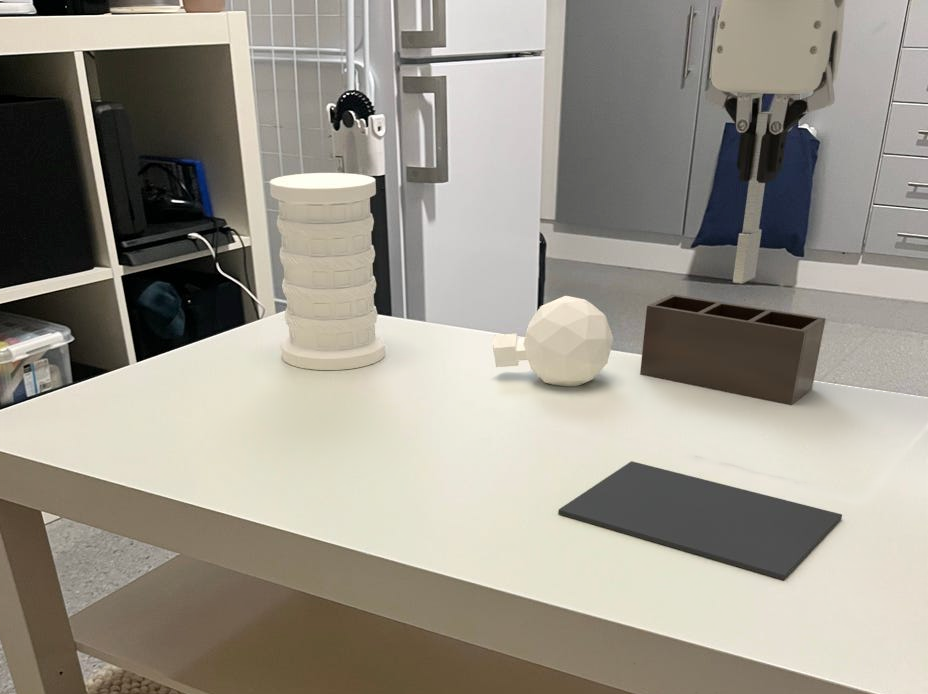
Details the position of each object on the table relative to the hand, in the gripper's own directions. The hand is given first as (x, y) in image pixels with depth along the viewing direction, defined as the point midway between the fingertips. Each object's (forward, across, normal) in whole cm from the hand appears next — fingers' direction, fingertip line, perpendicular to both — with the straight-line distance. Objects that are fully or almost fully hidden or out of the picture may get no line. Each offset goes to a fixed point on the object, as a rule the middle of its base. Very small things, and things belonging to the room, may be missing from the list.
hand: (757, 179), depth 93 cm
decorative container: (+19, +41, +15) cm, 47 cm away
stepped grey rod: (+9, 0, 0) cm, 9 cm away
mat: (+20, -10, +30) cm, 37 cm away
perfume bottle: (+20, +16, +9) cm, 27 cm away
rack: (+20, +1, 0) cm, 20 cm away
